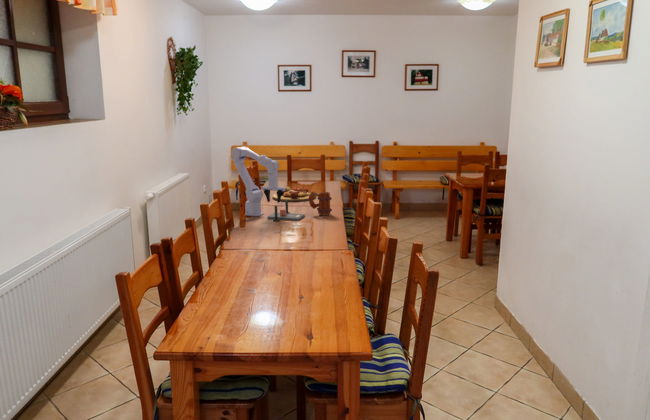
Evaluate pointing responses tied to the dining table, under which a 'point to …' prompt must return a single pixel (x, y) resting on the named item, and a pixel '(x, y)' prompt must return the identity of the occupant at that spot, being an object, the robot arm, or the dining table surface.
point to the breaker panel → (287, 216)
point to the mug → (321, 202)
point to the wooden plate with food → (294, 194)
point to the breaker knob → (283, 212)
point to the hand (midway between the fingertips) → (273, 202)
